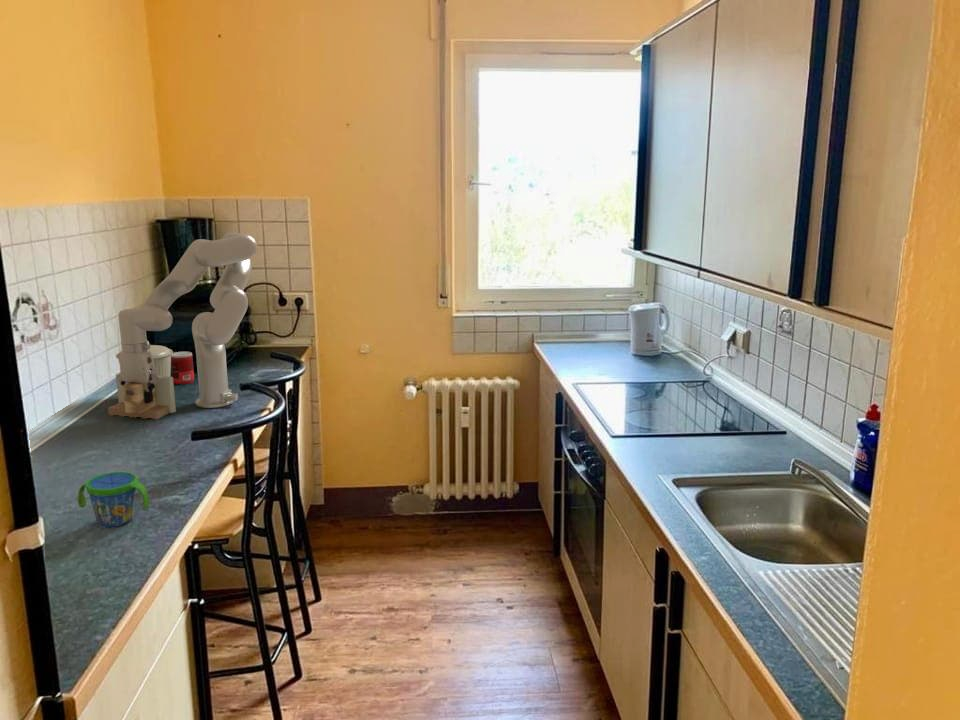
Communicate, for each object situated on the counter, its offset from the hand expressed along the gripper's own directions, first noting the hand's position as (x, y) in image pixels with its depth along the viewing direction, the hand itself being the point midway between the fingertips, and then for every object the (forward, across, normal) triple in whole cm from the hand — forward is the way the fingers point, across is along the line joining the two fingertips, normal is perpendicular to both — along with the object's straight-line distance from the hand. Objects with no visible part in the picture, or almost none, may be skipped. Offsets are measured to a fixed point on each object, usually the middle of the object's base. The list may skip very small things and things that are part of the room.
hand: (140, 401), depth 247 cm
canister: (+5, +10, -18) cm, 21 cm away
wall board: (+5, +2, -3) cm, 6 cm away
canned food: (+5, +11, -40) cm, 42 cm away
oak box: (+3, 0, 0) cm, 3 cm away
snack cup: (+5, -43, +68) cm, 81 cm away
